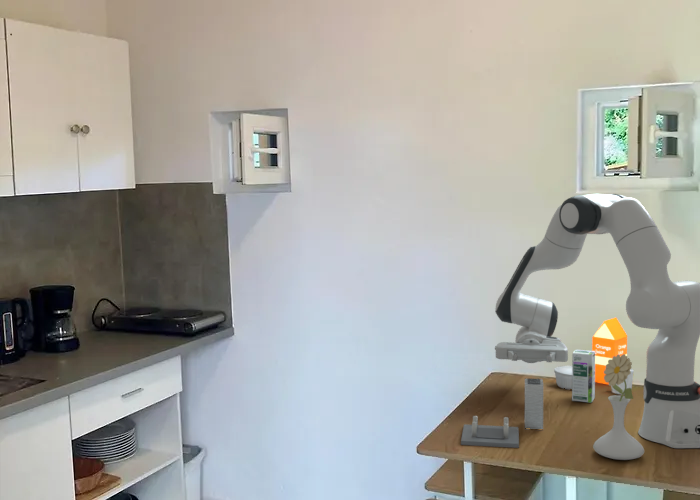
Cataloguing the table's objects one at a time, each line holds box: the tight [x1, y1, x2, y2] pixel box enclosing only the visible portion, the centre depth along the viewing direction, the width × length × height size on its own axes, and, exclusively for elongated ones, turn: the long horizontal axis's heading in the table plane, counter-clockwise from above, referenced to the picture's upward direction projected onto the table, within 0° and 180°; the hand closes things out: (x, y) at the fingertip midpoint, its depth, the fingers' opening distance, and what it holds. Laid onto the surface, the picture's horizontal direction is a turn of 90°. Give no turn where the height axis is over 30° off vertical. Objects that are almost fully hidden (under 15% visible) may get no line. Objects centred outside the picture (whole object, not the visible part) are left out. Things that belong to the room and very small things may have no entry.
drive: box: [524, 377, 544, 430], centre depth 204 cm, size 5×6×12 cm
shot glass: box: [610, 368, 635, 396], centre depth 235 cm, size 7×7×7 cm
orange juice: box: [591, 317, 628, 386], centre depth 247 cm, size 8×9×20 cm
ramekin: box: [554, 365, 572, 390], centre depth 242 cm, size 11×11×5 cm
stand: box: [460, 415, 520, 449], centre depth 196 cm, size 14×13×4 cm
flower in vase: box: [592, 354, 645, 461], centre depth 180 cm, size 13×11×25 cm
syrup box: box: [571, 349, 596, 404], centre depth 227 cm, size 6×6×14 cm
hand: (531, 358), depth 215 cm, fingers open, 8 cm apart
